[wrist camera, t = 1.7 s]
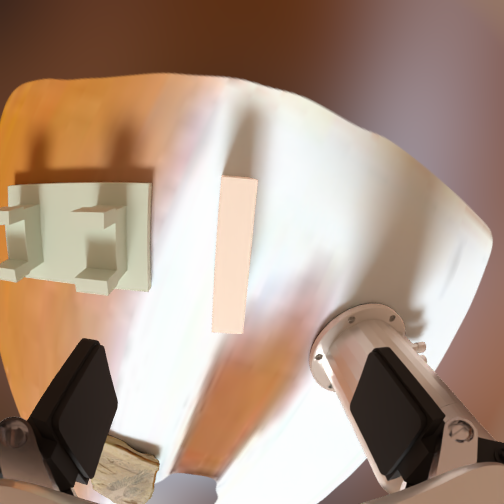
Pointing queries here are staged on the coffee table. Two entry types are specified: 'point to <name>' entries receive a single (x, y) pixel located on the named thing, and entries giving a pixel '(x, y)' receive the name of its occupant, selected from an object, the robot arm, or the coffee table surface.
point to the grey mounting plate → (79, 234)
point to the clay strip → (233, 252)
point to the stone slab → (125, 473)
